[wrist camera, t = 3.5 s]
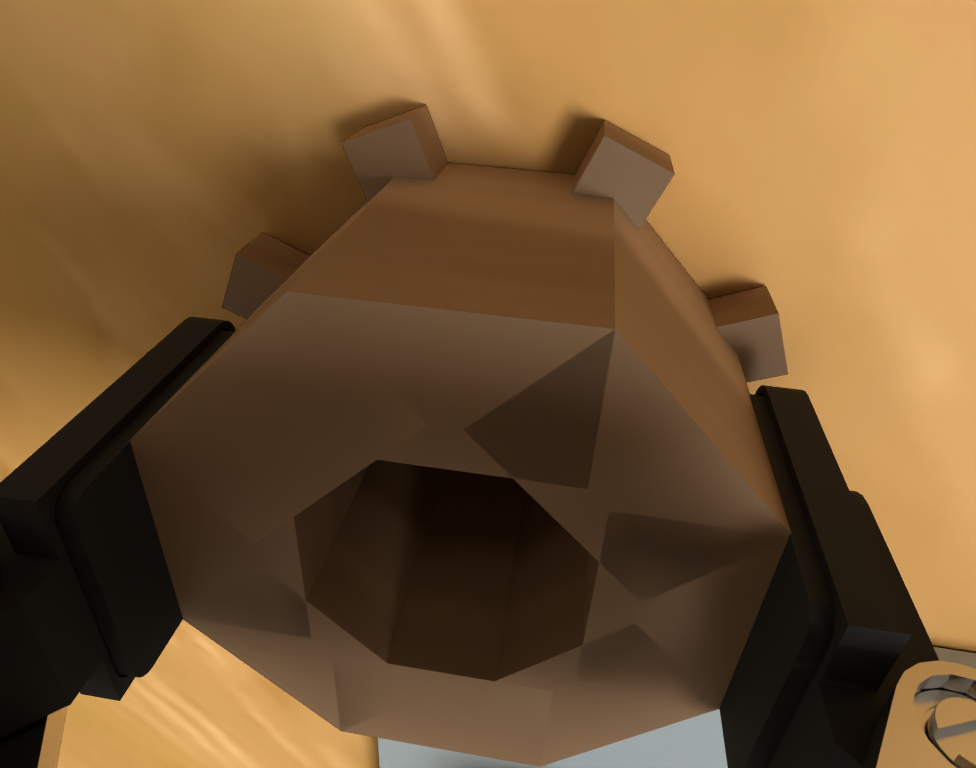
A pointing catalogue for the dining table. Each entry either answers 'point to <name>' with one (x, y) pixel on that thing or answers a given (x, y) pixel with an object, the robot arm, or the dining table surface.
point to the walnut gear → (478, 459)
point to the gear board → (613, 745)
